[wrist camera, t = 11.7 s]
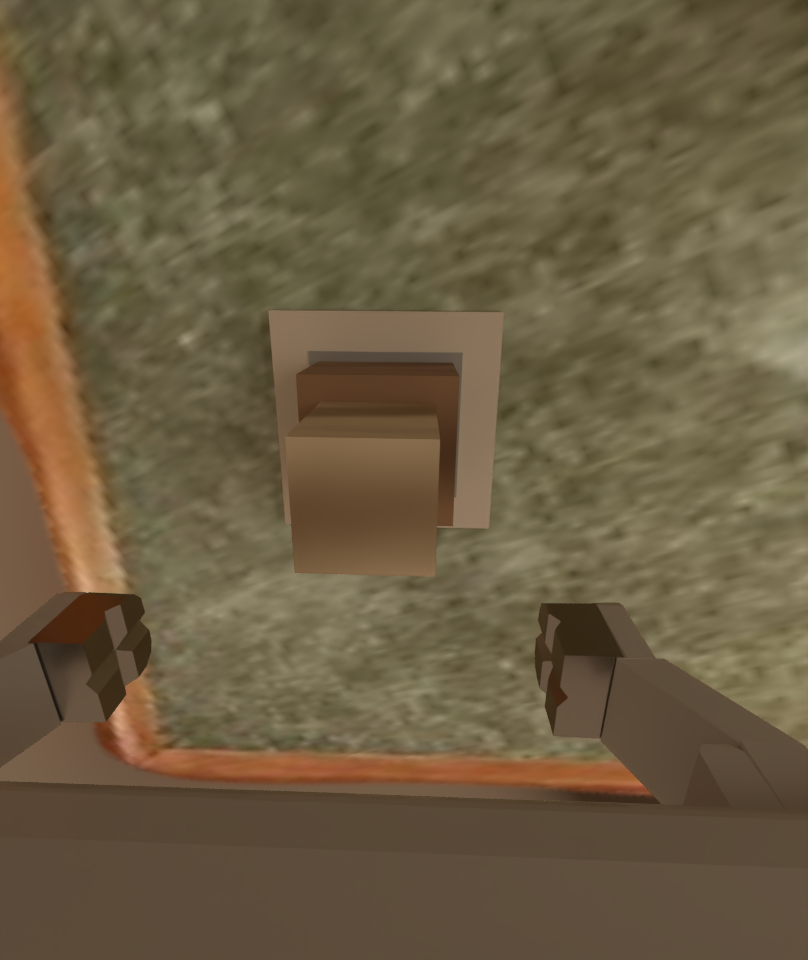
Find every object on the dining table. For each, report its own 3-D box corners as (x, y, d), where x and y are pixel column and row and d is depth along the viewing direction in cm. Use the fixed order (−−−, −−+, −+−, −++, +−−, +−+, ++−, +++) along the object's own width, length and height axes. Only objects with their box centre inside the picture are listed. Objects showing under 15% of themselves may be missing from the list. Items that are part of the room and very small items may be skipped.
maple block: (320, 401, 22) (284, 436, 16) (435, 403, 22) (440, 439, 16) (325, 507, 23) (294, 572, 18) (432, 509, 23) (435, 576, 18)
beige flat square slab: (273, 310, 26) (267, 310, 25) (501, 312, 26) (504, 312, 25) (289, 517, 30) (284, 525, 29) (486, 521, 30) (489, 530, 29)
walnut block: (318, 361, 26) (295, 374, 21) (452, 362, 26) (459, 376, 21) (324, 486, 28) (305, 523, 24) (447, 489, 28) (452, 526, 23)
